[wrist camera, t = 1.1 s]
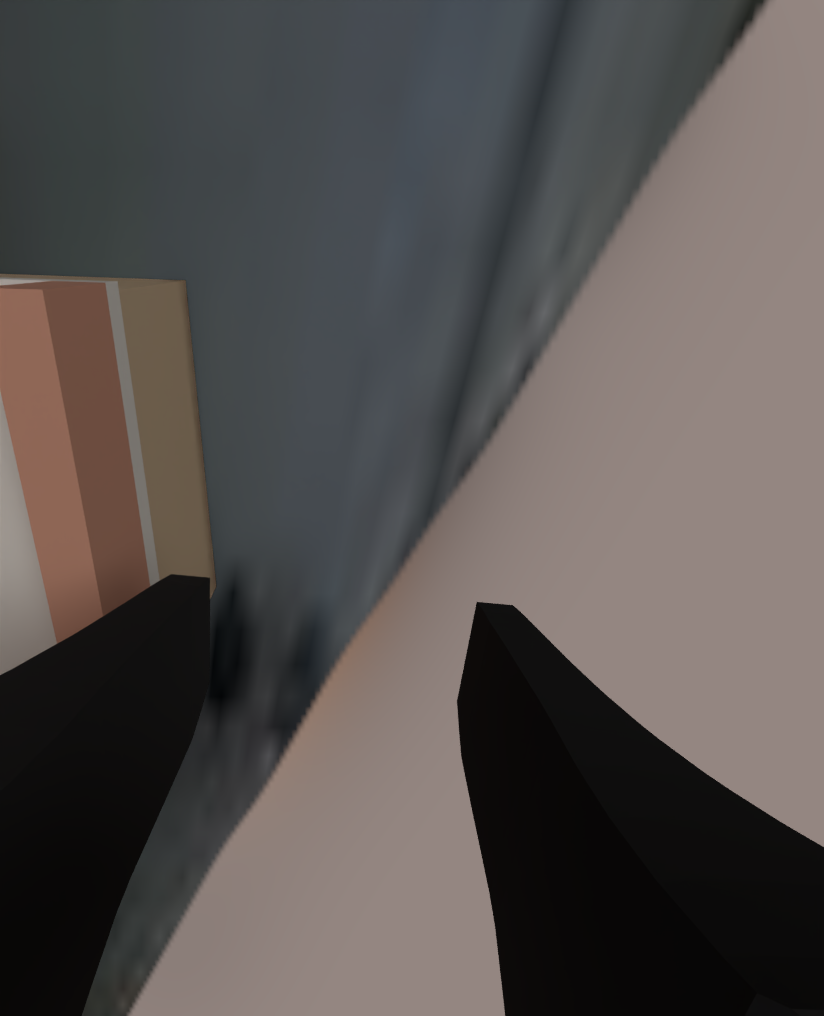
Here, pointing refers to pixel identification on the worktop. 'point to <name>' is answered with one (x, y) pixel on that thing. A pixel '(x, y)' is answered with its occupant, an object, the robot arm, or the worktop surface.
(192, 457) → the box
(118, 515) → the mailer lid
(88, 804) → the robot arm
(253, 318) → the worktop surface
